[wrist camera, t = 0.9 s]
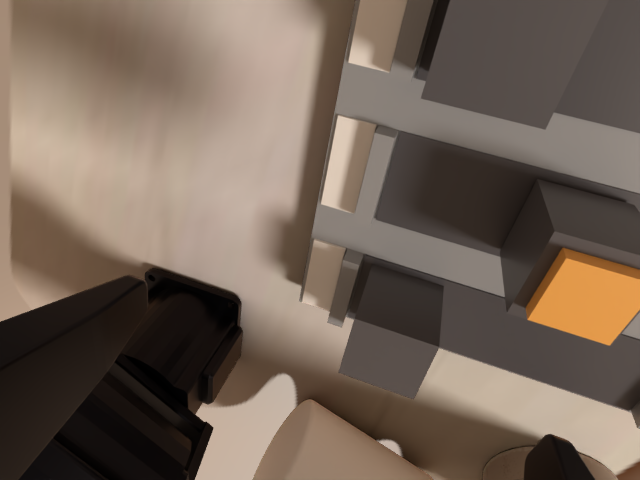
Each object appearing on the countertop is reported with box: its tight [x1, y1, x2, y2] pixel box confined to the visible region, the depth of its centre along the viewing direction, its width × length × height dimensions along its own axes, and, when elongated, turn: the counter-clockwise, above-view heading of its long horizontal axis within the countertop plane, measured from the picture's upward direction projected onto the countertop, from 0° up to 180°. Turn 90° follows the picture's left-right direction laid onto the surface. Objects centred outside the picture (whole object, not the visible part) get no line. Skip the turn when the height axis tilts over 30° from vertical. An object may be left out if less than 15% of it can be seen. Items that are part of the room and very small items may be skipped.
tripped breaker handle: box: [500, 179, 640, 346], centre depth 15 cm, size 4×4×5 cm
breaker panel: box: [299, 0, 640, 429], centre depth 16 cm, size 20×17×5 cm
